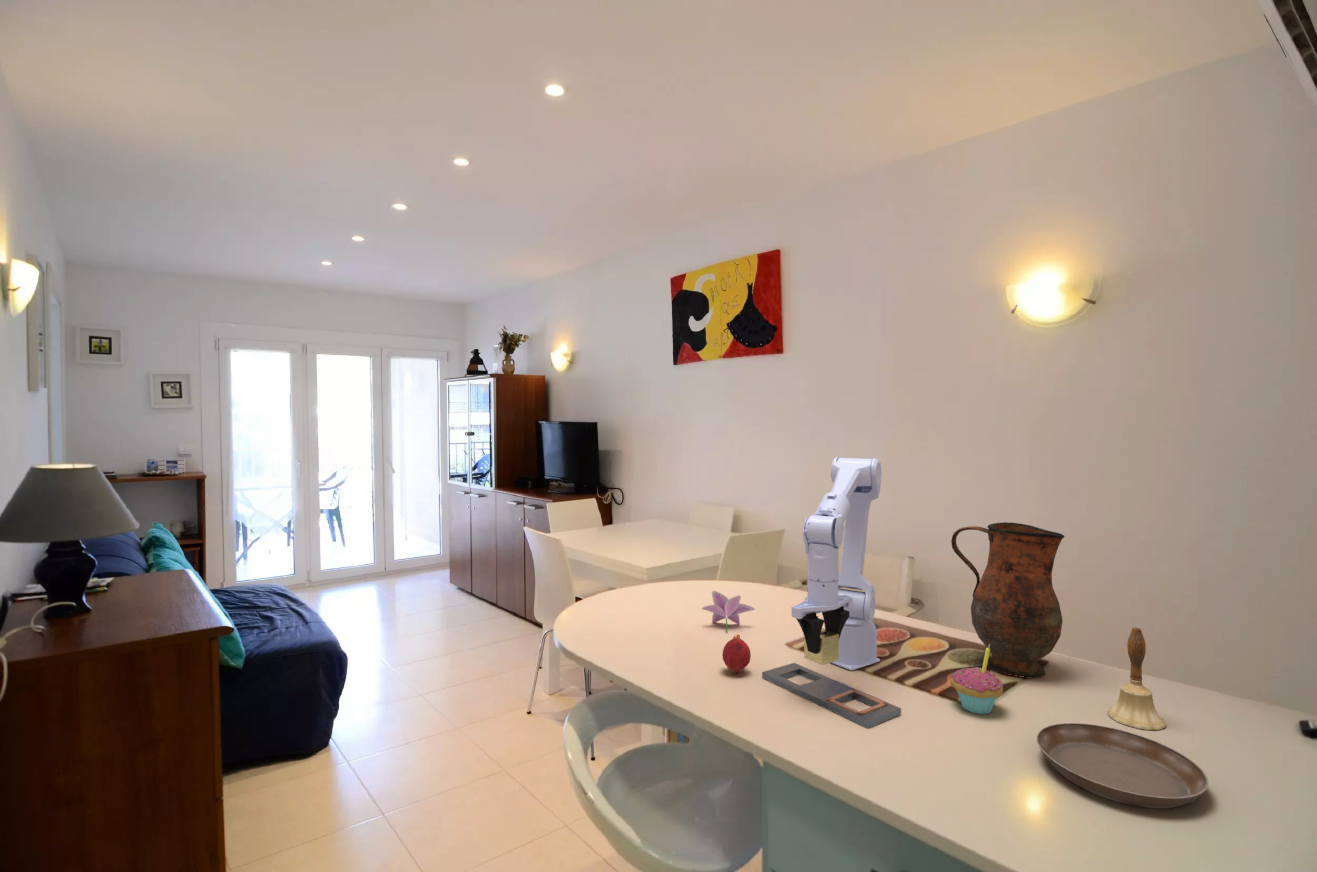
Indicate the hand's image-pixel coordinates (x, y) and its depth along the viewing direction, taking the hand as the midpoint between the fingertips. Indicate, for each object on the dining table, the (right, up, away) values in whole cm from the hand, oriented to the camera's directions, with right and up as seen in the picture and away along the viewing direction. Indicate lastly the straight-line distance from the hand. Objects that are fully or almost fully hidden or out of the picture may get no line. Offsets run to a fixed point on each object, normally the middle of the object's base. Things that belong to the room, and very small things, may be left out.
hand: (822, 649), depth 125 cm
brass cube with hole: (0, -2, 0) cm, 2 cm away
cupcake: (+26, -9, -6) cm, 28 cm away
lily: (-14, -8, +39) cm, 42 cm away
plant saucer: (+36, -10, -28) cm, 47 cm away
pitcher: (+42, -8, +14) cm, 45 cm away
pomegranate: (-15, -8, +10) cm, 20 cm away
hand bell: (+52, -9, -11) cm, 54 cm away
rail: (+1, -9, -1) cm, 9 cm away
